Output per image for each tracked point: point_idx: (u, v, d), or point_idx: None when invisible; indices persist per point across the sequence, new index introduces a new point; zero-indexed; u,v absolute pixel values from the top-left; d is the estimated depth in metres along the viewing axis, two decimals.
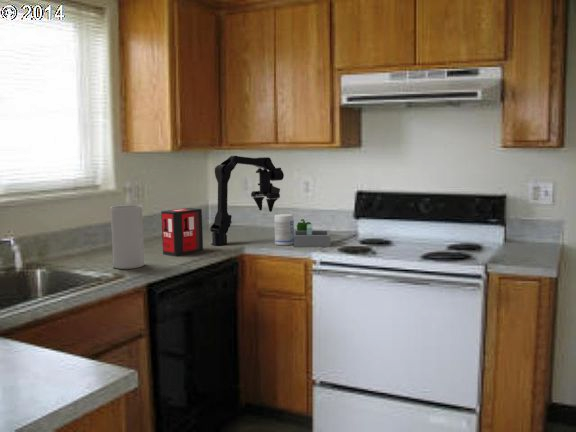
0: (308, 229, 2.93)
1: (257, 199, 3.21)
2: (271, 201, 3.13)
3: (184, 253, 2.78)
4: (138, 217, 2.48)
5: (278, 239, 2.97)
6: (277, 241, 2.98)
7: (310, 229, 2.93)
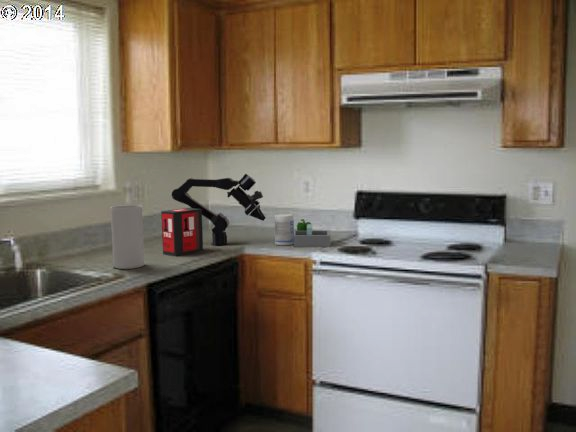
0: (308, 229, 2.93)
1: None
2: (255, 212, 2.96)
3: (184, 253, 2.78)
4: (138, 217, 2.48)
5: (278, 239, 2.97)
6: (277, 241, 2.98)
7: (310, 229, 2.93)
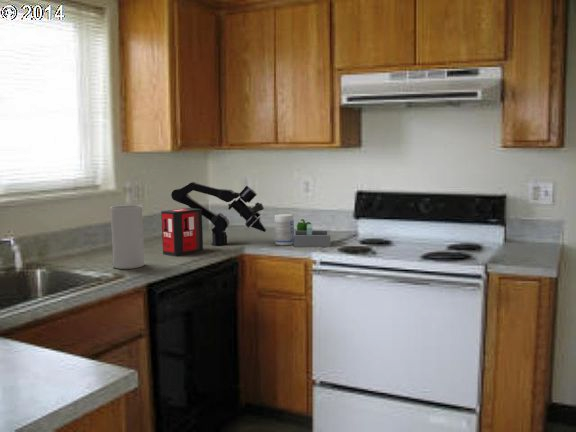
0: (308, 229, 2.93)
1: None
2: (257, 224, 3.00)
3: (184, 253, 2.78)
4: (138, 217, 2.48)
5: (278, 239, 2.97)
6: (277, 241, 2.98)
7: (310, 229, 2.93)
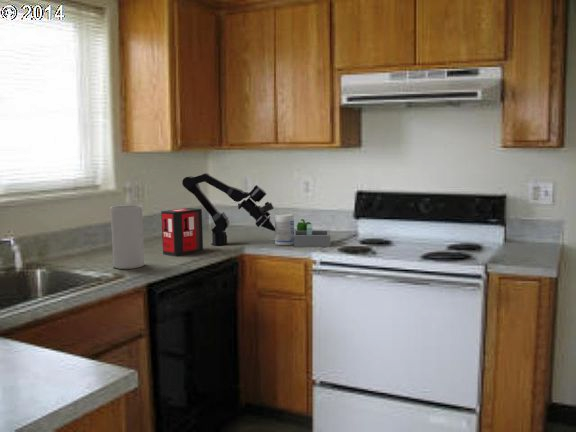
0: (308, 229, 2.93)
1: None
2: (266, 223, 2.99)
3: (184, 253, 2.78)
4: (138, 217, 2.48)
5: (278, 239, 2.97)
6: (277, 241, 2.98)
7: (310, 229, 2.93)
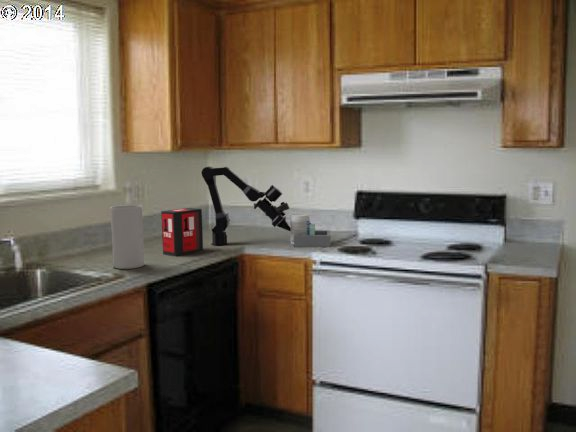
0: (311, 229, 2.93)
1: None
2: (282, 223, 2.99)
3: (184, 253, 2.78)
4: (138, 217, 2.48)
5: None
6: (293, 241, 2.97)
7: (313, 229, 2.93)
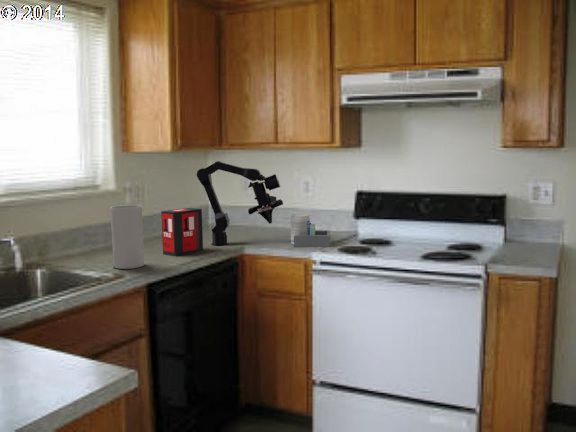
0: (311, 229, 2.93)
1: (264, 213, 2.99)
2: (269, 212, 2.99)
3: (184, 253, 2.78)
4: (138, 217, 2.48)
5: None
6: (293, 241, 2.97)
7: (313, 229, 2.93)
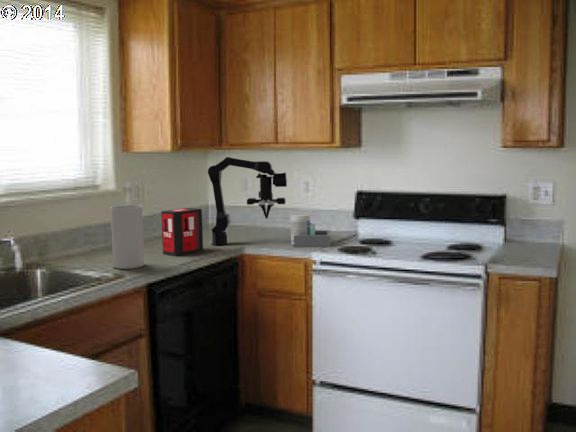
0: (311, 229, 2.93)
1: (264, 206, 2.98)
2: None
3: (184, 253, 2.78)
4: (138, 217, 2.48)
5: None
6: (293, 241, 2.97)
7: (313, 229, 2.93)
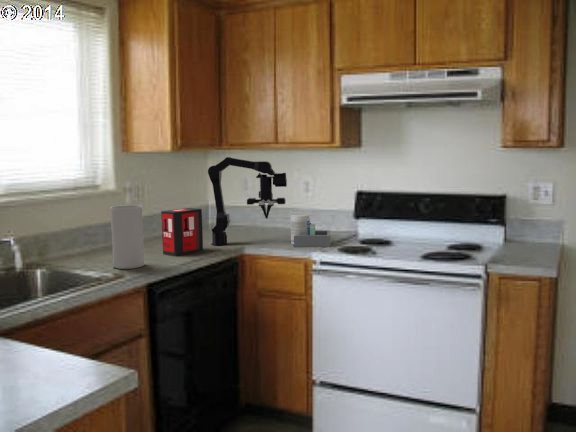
0: (311, 229, 2.93)
1: (264, 207, 2.98)
2: None
3: (184, 253, 2.78)
4: (138, 217, 2.48)
5: None
6: (293, 241, 2.97)
7: (313, 229, 2.93)
